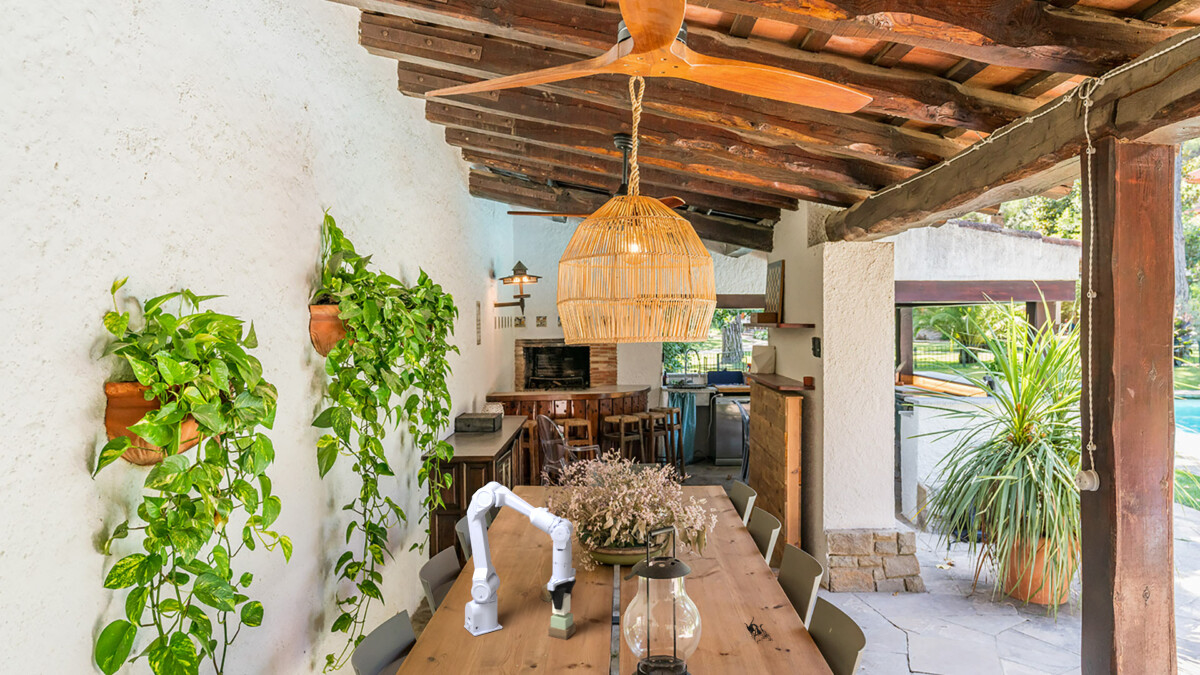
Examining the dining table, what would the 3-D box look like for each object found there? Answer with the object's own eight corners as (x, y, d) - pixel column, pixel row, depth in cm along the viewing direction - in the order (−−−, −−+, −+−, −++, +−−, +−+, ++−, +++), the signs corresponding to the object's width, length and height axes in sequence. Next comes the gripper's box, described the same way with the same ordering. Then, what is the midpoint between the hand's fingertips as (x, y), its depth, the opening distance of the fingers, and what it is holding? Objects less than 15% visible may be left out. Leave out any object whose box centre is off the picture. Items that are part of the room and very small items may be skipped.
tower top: (565, 630, 196) (565, 620, 196) (550, 626, 198) (550, 616, 198) (573, 623, 200) (573, 613, 200) (558, 620, 203) (558, 610, 203)
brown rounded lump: (542, 613, 223) (544, 595, 220) (537, 590, 232) (539, 572, 229) (570, 610, 226) (572, 592, 222) (564, 587, 235) (567, 570, 231)
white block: (564, 615, 197) (564, 598, 197) (552, 613, 198) (552, 596, 198) (570, 610, 200) (570, 594, 200) (558, 608, 202) (558, 591, 202)
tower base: (566, 641, 195) (566, 631, 195) (548, 637, 198) (548, 627, 198) (575, 633, 201) (575, 623, 201) (558, 629, 203) (558, 619, 203)
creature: (775, 640, 199) (751, 627, 204) (779, 624, 198) (755, 611, 203) (763, 650, 193) (739, 636, 197) (767, 633, 192) (743, 620, 197)
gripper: (562, 570, 191) (562, 617, 191) (584, 556, 204) (584, 599, 204) (541, 567, 194) (541, 613, 194) (564, 552, 207) (563, 595, 207)
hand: (561, 606), depth 199 cm, fingers open, 4 cm apart
